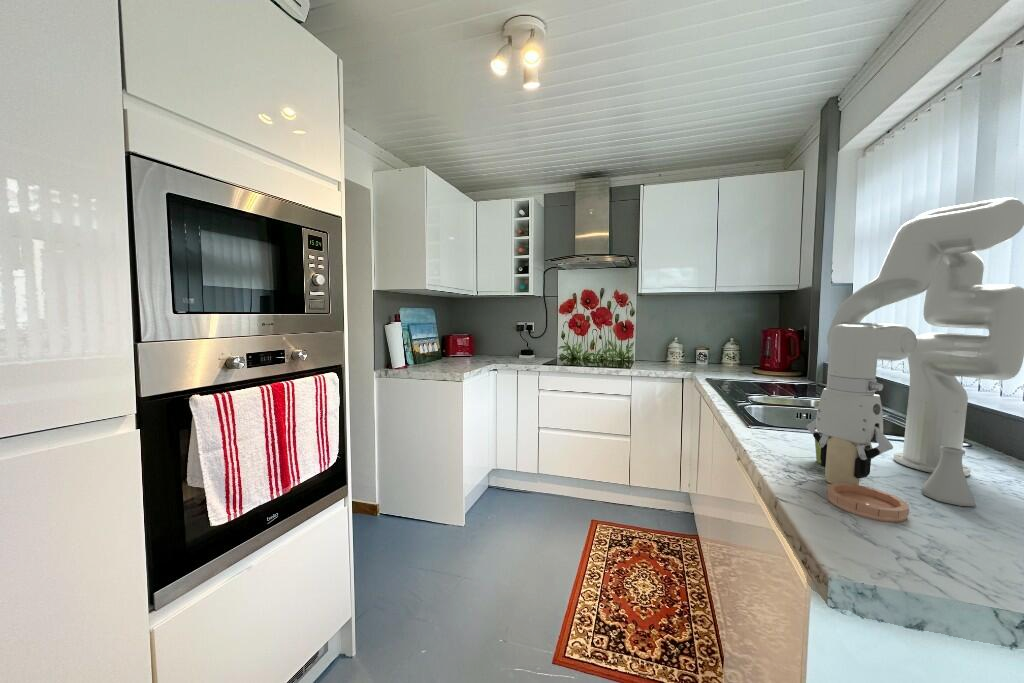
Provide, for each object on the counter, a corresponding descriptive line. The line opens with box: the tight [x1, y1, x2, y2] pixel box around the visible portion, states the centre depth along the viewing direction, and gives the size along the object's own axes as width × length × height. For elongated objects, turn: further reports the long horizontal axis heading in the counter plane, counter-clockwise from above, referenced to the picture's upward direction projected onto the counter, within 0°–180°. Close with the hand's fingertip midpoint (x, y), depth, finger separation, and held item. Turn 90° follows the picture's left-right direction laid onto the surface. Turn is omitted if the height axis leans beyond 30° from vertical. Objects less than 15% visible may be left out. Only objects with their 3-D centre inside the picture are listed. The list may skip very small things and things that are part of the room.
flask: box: [920, 446, 977, 507], centre depth 78 cm, size 7×7×10 cm
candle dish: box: [826, 483, 910, 523], centre depth 74 cm, size 11×11×2 cm
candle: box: [824, 437, 860, 485], centre depth 83 cm, size 6×6×10 cm
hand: (843, 470), depth 84 cm, fingers closed on candle, 5 cm apart
